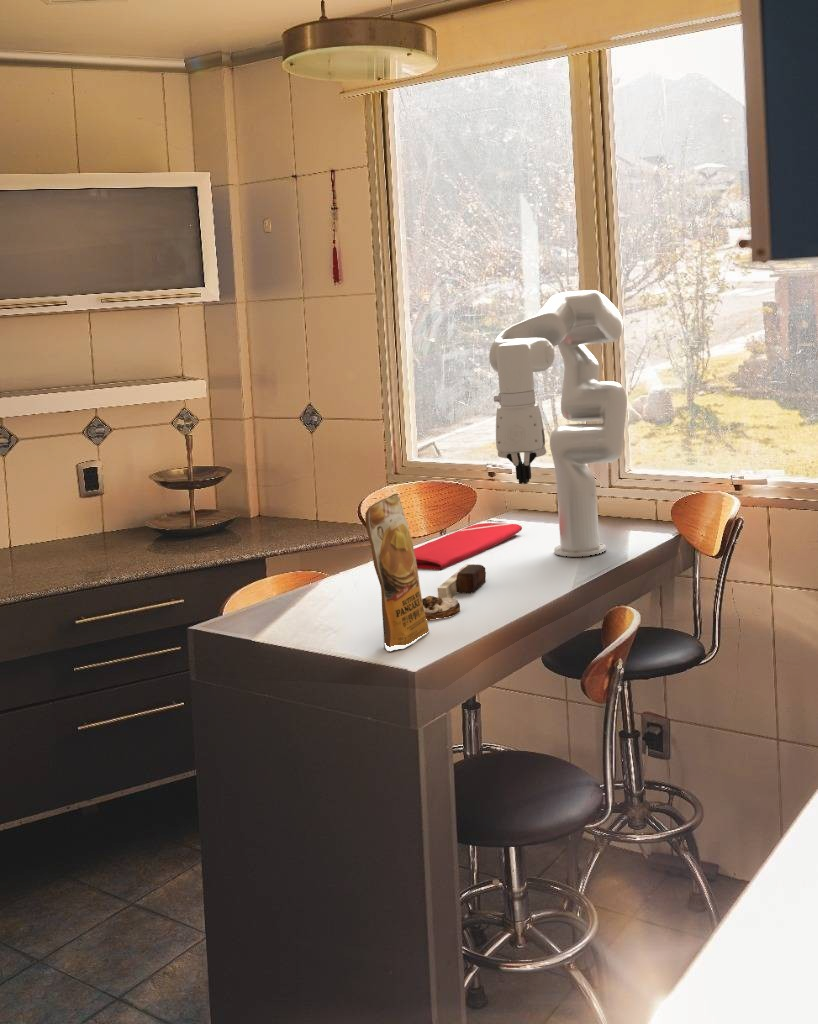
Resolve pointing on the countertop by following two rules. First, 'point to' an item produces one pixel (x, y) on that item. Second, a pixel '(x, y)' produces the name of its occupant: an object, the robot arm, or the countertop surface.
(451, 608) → the cream topped tart
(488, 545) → the dish drying mat
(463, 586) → the brick
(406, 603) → the pancake mix bag
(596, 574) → the countertop surface
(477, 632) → the countertop surface
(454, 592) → the beige long bar
